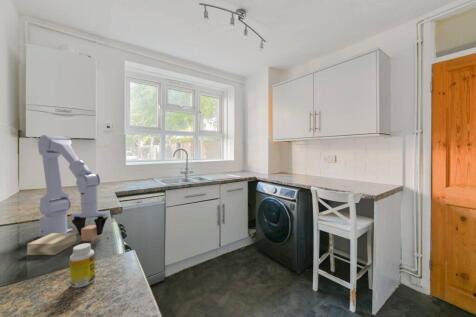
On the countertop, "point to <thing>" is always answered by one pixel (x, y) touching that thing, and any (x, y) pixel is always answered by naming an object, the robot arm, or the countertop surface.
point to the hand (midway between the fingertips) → (90, 234)
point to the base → (51, 244)
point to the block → (89, 233)
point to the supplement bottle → (82, 265)
